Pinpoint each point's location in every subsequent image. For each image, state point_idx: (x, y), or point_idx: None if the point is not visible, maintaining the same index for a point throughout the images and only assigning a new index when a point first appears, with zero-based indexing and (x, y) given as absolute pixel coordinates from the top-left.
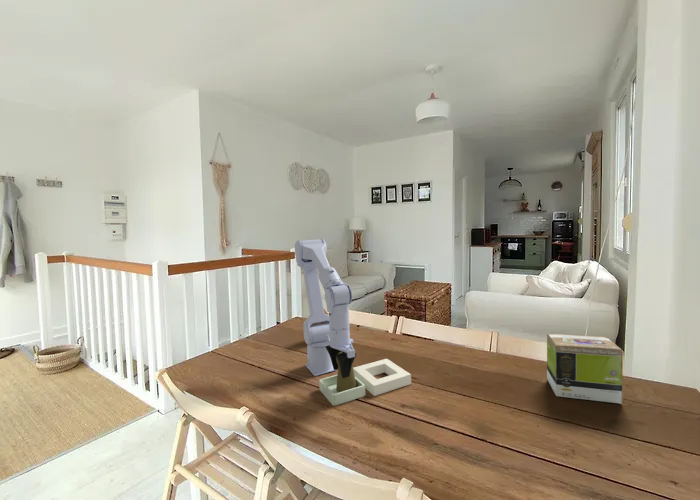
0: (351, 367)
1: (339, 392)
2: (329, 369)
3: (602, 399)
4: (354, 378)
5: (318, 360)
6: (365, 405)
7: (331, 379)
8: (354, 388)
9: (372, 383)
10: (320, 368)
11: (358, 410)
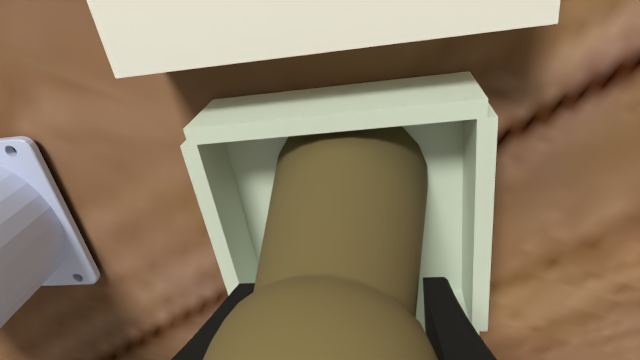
0: (402, 284)
1: (475, 301)
2: (34, 192)
3: None
4: (395, 182)
5: (3, 316)
6: (592, 126)
7: (241, 264)
8: (486, 200)
9: (502, 17)
10: (48, 264)
11: (611, 188)
